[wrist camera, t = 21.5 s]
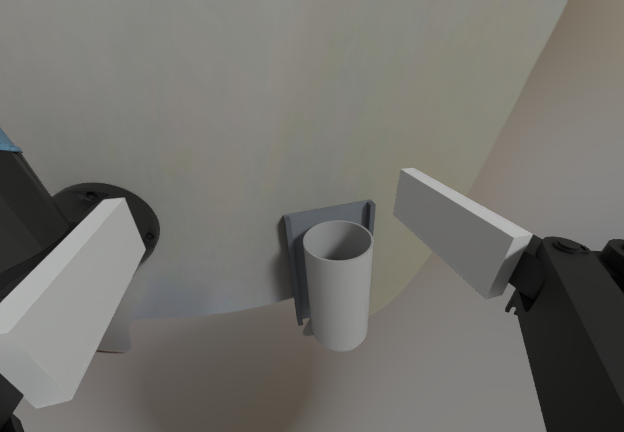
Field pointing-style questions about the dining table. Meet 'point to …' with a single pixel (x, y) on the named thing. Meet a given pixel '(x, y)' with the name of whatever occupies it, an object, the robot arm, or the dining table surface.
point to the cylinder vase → (338, 282)
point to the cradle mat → (294, 234)
